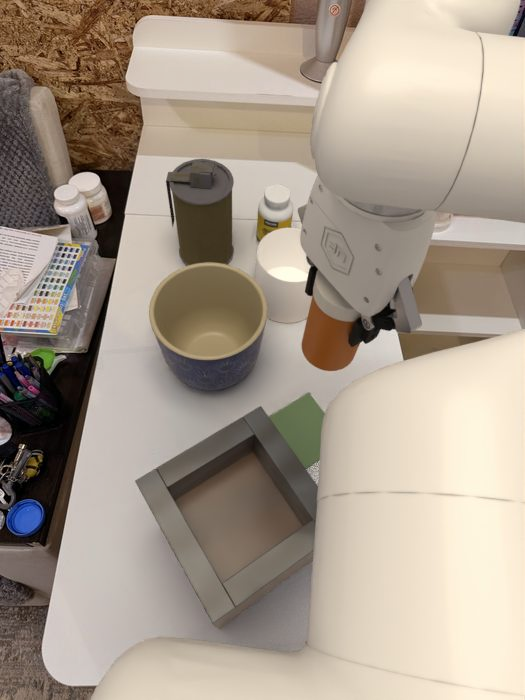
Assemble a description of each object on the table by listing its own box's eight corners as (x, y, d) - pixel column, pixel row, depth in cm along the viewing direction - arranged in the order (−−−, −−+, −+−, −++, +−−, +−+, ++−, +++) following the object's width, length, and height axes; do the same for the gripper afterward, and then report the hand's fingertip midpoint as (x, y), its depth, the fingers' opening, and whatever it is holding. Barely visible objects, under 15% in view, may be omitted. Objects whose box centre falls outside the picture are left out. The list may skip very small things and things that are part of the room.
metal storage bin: (316, 557, 72) (346, 526, 53) (218, 629, 67) (213, 624, 48) (253, 463, 78) (260, 405, 59) (160, 522, 73) (134, 480, 54)
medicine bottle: (367, 354, 56) (398, 290, 46) (323, 382, 54) (344, 320, 44) (333, 314, 59) (355, 244, 48) (289, 339, 57) (302, 272, 46)
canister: (236, 233, 101) (236, 148, 83) (230, 274, 96) (230, 193, 78) (181, 228, 101) (170, 142, 83) (172, 269, 95) (159, 187, 78)
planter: (151, 397, 82) (136, 351, 69) (172, 311, 91) (162, 255, 78) (256, 411, 82) (260, 366, 69) (267, 323, 91) (273, 268, 77)
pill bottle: (252, 246, 99) (255, 202, 89) (260, 222, 102) (263, 177, 92) (285, 253, 99) (291, 209, 89) (292, 229, 102) (298, 184, 92)
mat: (345, 442, 80) (346, 441, 80) (294, 476, 77) (294, 475, 77) (308, 393, 84) (308, 392, 84) (257, 424, 81) (257, 423, 81)
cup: (307, 331, 90) (317, 291, 80) (245, 313, 91) (246, 270, 81) (324, 281, 96) (335, 237, 86) (265, 264, 97) (269, 219, 87)
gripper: (271, 113, 37) (259, 269, 53) (433, 275, 30) (365, 399, 46) (351, 82, 39) (317, 240, 55) (518, 227, 33) (426, 360, 48)
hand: (339, 312), depth 50 cm, fingers closed on medicine bottle, 6 cm apart
